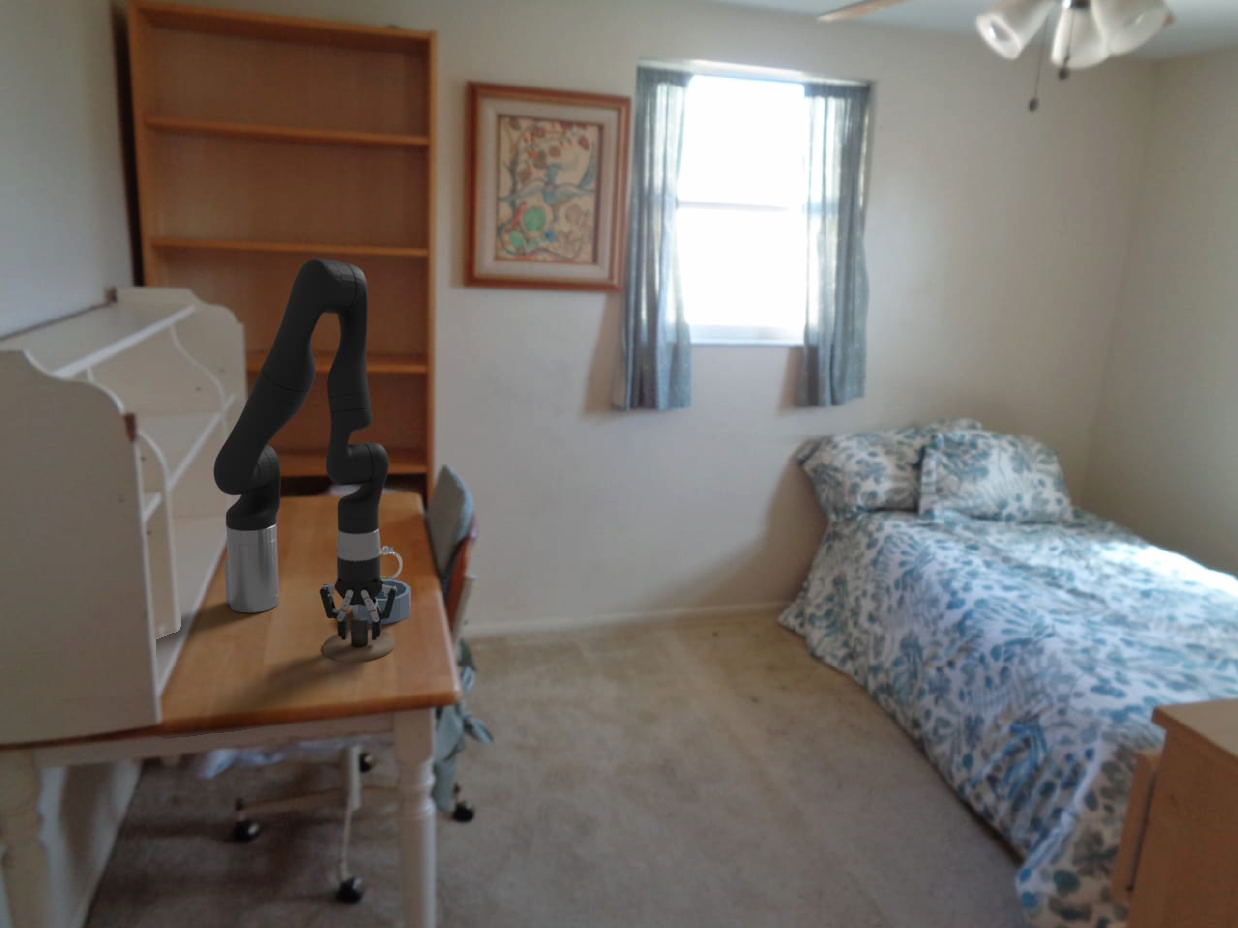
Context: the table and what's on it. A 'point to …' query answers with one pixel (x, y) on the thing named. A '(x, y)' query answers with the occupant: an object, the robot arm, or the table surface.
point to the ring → (390, 551)
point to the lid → (359, 643)
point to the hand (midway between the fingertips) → (359, 637)
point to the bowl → (399, 606)
